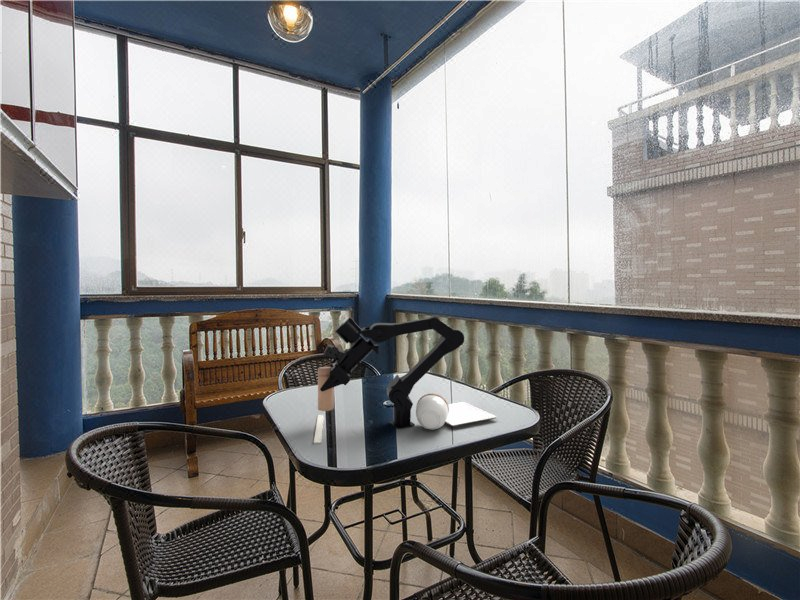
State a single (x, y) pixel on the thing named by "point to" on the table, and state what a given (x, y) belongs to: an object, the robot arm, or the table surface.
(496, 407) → the table surface
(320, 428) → the line
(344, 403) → the table surface
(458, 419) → the plate
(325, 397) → the tumbler
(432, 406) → the white rounded piece
